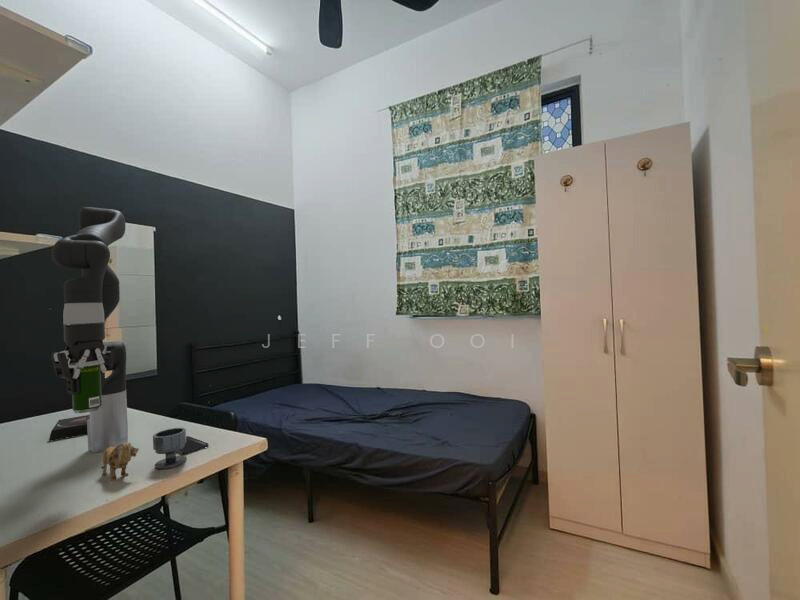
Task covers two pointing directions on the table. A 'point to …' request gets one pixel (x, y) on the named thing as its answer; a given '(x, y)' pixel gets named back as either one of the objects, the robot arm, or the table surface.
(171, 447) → the cup bracket
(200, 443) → the phone
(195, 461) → the table surface
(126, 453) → the lion figurine
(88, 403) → the green drink can
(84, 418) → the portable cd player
